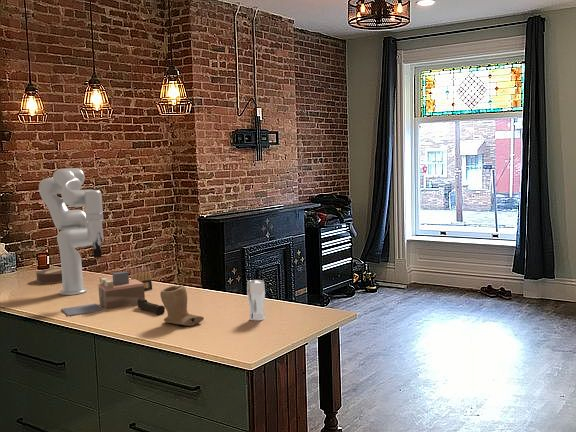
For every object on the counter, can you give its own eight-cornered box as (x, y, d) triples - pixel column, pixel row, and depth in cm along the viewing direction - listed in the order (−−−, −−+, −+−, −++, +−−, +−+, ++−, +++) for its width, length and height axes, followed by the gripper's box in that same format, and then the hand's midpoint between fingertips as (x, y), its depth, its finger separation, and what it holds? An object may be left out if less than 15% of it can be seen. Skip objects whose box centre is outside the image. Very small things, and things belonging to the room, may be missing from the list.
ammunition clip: (132, 293, 305) (130, 268, 304) (130, 292, 307) (129, 268, 305) (152, 289, 312) (151, 265, 311) (150, 289, 313) (149, 265, 312)
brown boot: (155, 324, 246) (153, 286, 244) (179, 317, 255) (177, 281, 253) (181, 330, 236) (179, 291, 235) (205, 323, 245) (203, 285, 244)
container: (53, 276, 358) (53, 265, 358) (83, 277, 352) (82, 267, 351) (28, 284, 340) (27, 272, 339) (59, 286, 333) (58, 274, 332)
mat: (61, 309, 276) (61, 308, 276) (95, 304, 284) (95, 303, 284) (68, 316, 264) (68, 315, 264) (104, 310, 272) (104, 309, 272)
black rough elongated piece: (165, 314, 262) (165, 303, 262) (157, 316, 260) (156, 304, 259) (144, 307, 277) (143, 296, 276) (135, 308, 274) (135, 298, 274)
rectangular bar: (99, 283, 284) (99, 277, 284) (104, 282, 285) (104, 277, 285) (108, 288, 272) (108, 282, 272) (113, 287, 273) (112, 281, 273)
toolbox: (99, 304, 284) (98, 287, 283) (136, 298, 293) (135, 281, 292) (107, 309, 274) (105, 291, 273) (145, 303, 282) (144, 285, 282)
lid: (98, 289, 283) (97, 273, 282) (135, 283, 292) (134, 268, 291) (106, 293, 273) (104, 277, 272) (144, 288, 282) (143, 272, 281)
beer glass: (259, 322, 244) (257, 283, 242) (244, 320, 247) (243, 282, 246) (269, 317, 250) (267, 280, 248) (255, 315, 253) (253, 279, 252)
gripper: (82, 217, 291) (85, 256, 292) (90, 219, 278) (93, 260, 280) (98, 215, 295) (101, 254, 296) (107, 217, 282) (110, 258, 284)
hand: (97, 257), depth 288 cm, fingers closed
